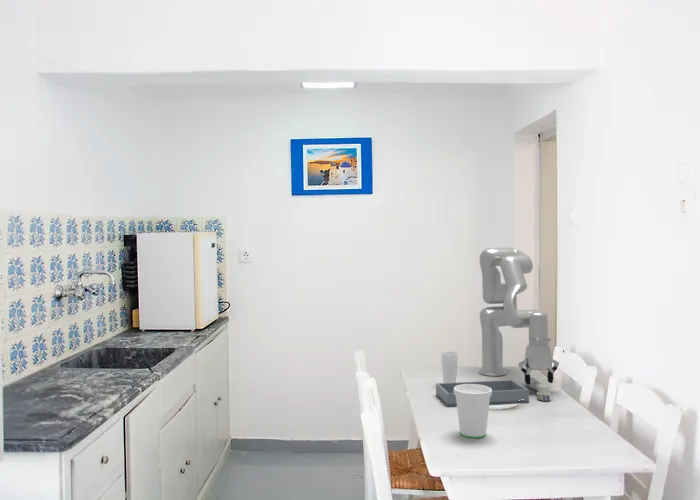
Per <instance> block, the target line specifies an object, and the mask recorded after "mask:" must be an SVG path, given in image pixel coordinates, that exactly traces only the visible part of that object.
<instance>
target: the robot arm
mask: <svg viewBox="0 0 700 500" xmlns="http://www.w3.org/2000/svg"><path fill="white" fill-rule="evenodd" d="M479 267H480V271H481V277H482V279H481V280H482V281H481V282H482V286H481V287H482V299H483V302H484V303H485V304H488V305H497V304H499V306H487V307H485V308H482V309H481V310H480V312H479V320H480V327H481V355H482V356H481V366H482V367H481V368H480V369H479V370H478V373H479V374H481V375H482V376H488V377H502V376H506V374H507V370H505V369H504V357H503V355H504V352H503V349H504V348H503V346H504V345H503V343H504V342H503V334H502V332H501V331H500V329H499V327H511V328H513V329H523V328H524V329H525V328H528V344H527V345H526V347H525V355H524V356H525V357H524V359H523V360H522V361H520V362H519V363H518V365H517V366H518V367H519V368H520V371H521V372H522V373H523V374H524V382H526V383H527V384H530V378H531V374H530V373H531V372H532V371H542V370H544V371H545V370H547V382H548V383H549V384H553V382H554V374H555V372H556V371H557V369H558V367H559V364H560V362H559V361H557V360H555V359H553V357H552V350H551V347H550V345H549V343H551V341H552V340H551V338H549V336H548V335H549V334H548V333H549V332H548V331H549V329H548V326H549V325H548V322H549V321H548V313H546V312H544V311H539V310H537V309H517V308H518V307H517V306H518V305H517V303H518V301H517V299H518V298H517V297H518V296H517V295H520V294H521V293H523V292H525V291H526V290H527V288H528V283H527V281H526V278H525V275H526V274H530V273H532V270H533V267H534V263H533V260H532V259H531V257H530V256H529V255H527V253H525V252H523V251H522V250H519V249H517V248H515V247H490V248H485V249H484V250H482V251H481V253H480V255H479ZM498 267H500V270H501V272H502V275H501V272H500V270H499V269H498ZM502 276H503V279H504V282H505V283H504V282H503V283H502V280H501V279H502ZM501 304H502V306H501Z"/></svg>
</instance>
